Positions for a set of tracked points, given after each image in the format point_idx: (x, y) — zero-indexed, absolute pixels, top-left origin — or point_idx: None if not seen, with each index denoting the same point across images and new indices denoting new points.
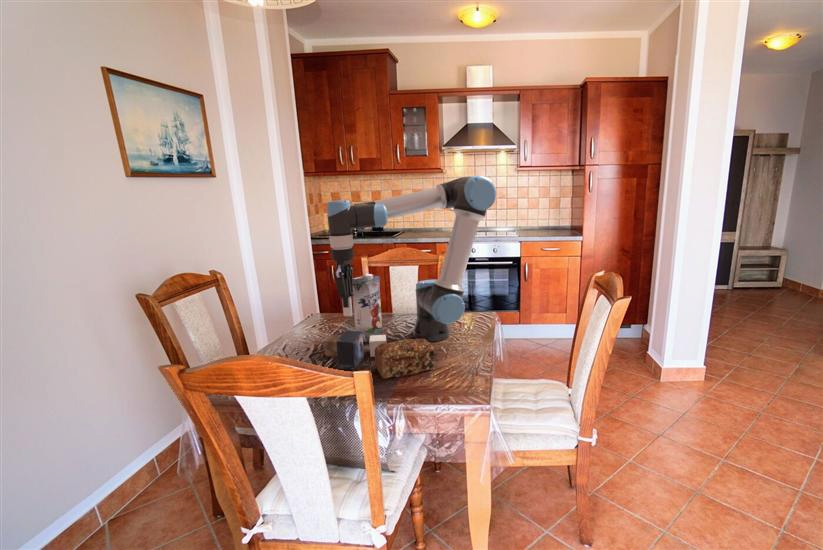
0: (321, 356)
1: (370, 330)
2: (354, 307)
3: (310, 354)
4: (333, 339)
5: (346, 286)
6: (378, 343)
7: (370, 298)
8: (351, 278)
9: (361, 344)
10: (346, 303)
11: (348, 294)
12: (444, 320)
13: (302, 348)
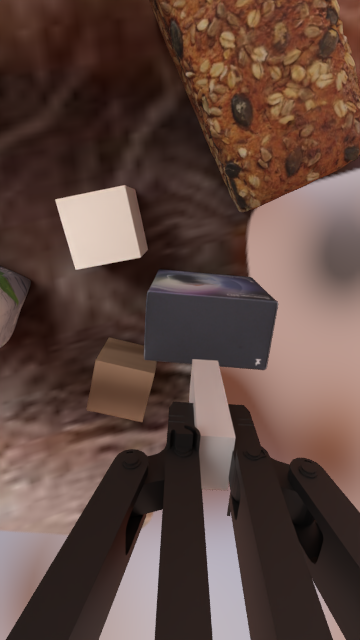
0: (155, 399)
1: (3, 283)
2: None
3: (143, 431)
4: (129, 394)
5: (304, 561)
6: (133, 219)
7: None
8: (80, 619)
9: (182, 280)
10: (254, 429)
11: (251, 467)
12: None
13: (104, 464)
